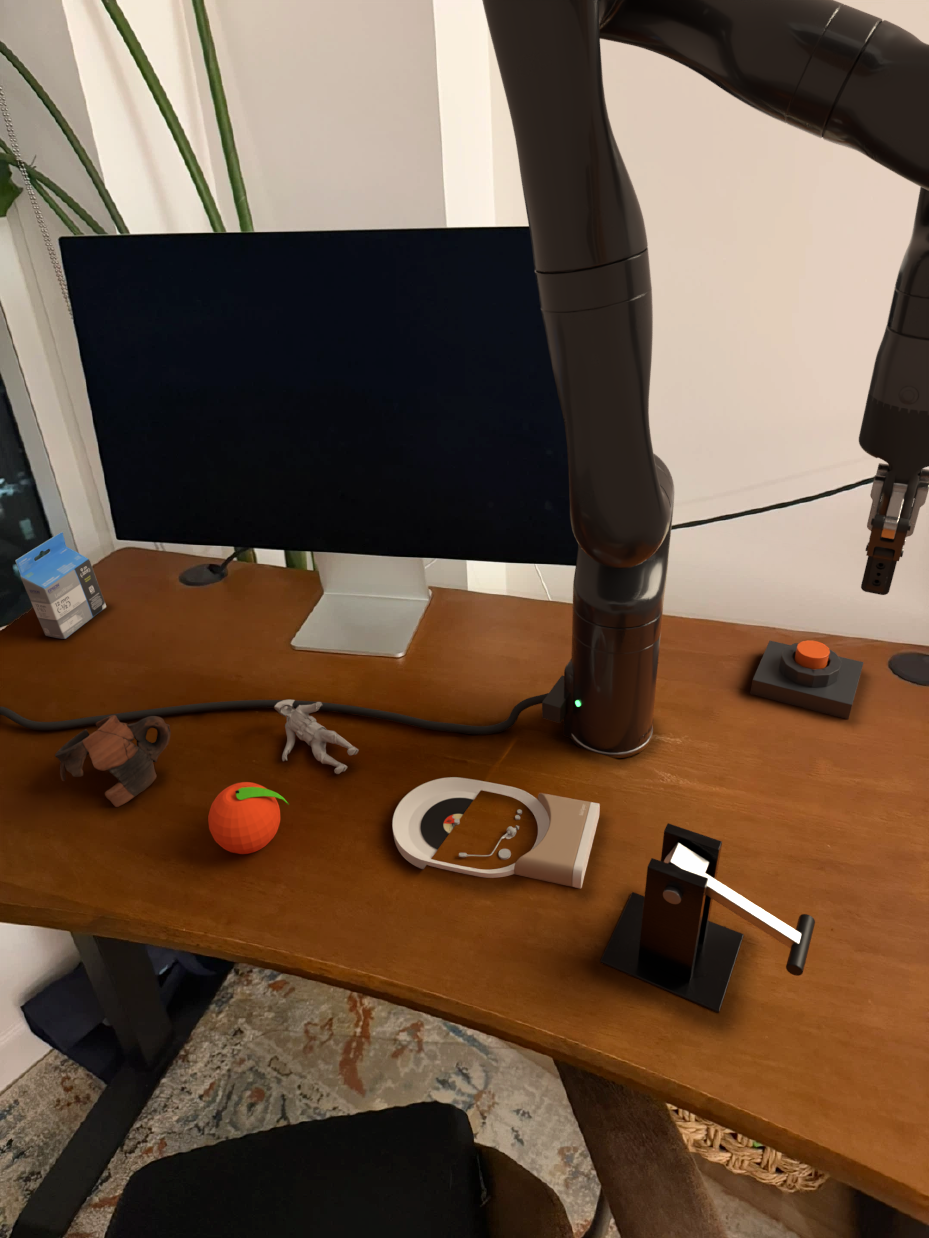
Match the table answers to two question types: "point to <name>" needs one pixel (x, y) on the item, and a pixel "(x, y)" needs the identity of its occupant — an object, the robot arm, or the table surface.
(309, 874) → the table surface
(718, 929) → the bracket
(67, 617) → the label tape box
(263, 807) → the clementine
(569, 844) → the record player
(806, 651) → the button
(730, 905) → the lever
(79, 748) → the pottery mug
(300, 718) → the soldier figure
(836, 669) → the button box
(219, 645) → the table surface
